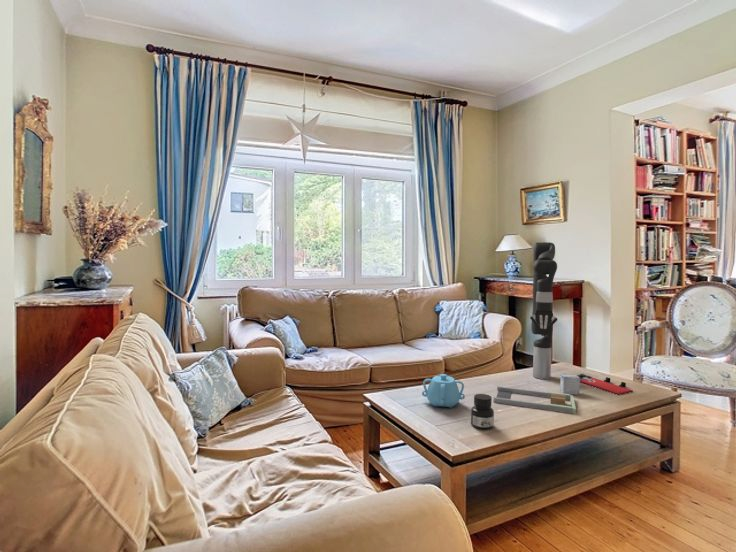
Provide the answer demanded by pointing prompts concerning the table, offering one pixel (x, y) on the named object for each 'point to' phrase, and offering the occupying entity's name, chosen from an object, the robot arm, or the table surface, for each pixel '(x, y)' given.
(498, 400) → the frame
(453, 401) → the decorative pot
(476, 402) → the ink bottle
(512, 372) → the table surface
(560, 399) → the walnut block
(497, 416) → the table surface
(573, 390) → the medicine box
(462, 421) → the table surface
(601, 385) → the red board with handle
